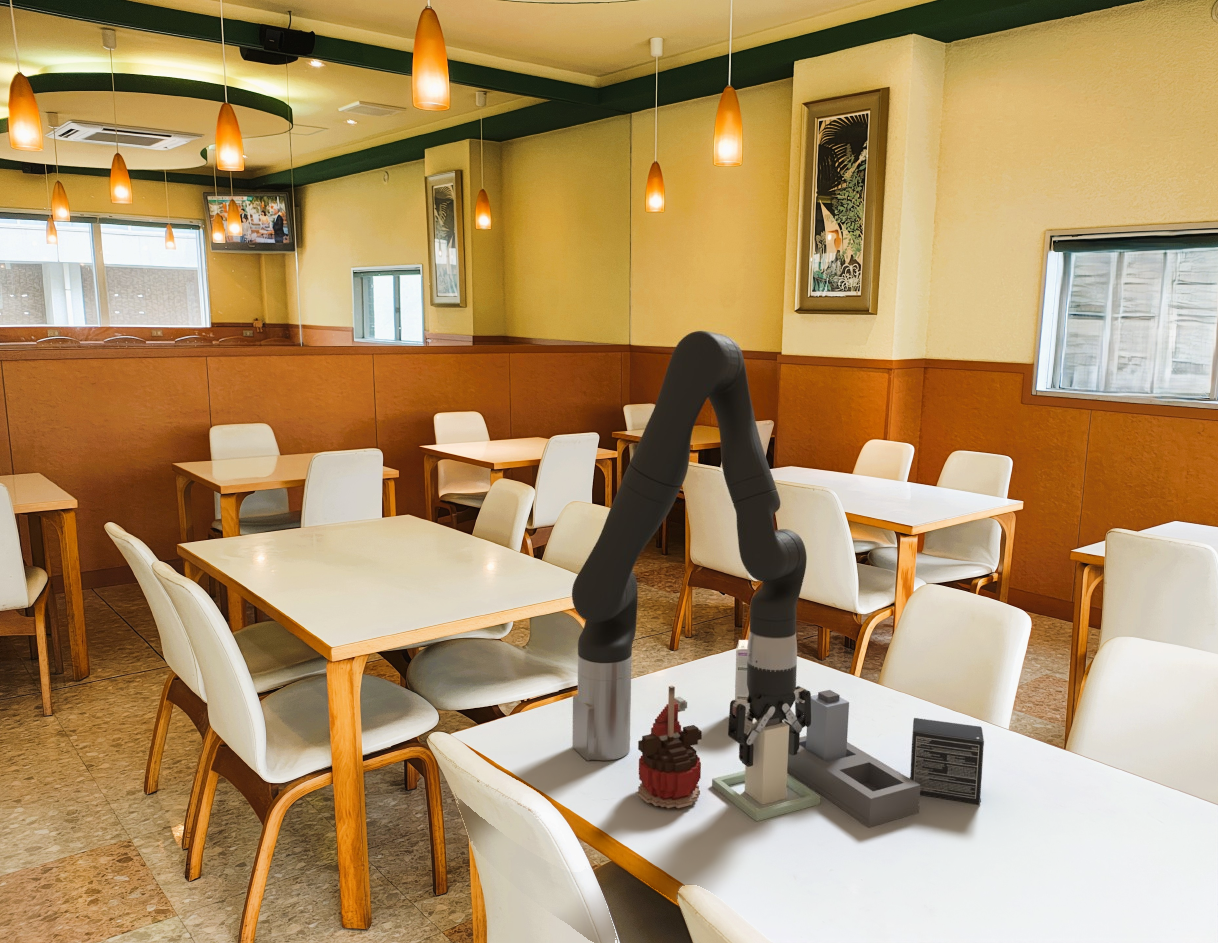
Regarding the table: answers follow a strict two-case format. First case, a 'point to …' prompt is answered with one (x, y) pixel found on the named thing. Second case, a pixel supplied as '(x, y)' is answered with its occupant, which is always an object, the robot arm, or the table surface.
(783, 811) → the tray frame
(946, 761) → the small box
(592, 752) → the robot arm
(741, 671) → the syrup box
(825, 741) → the blue-grey knobbed block
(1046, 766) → the table surface
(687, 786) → the cake
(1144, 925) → the table surface
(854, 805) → the outlet strip
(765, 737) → the plug
